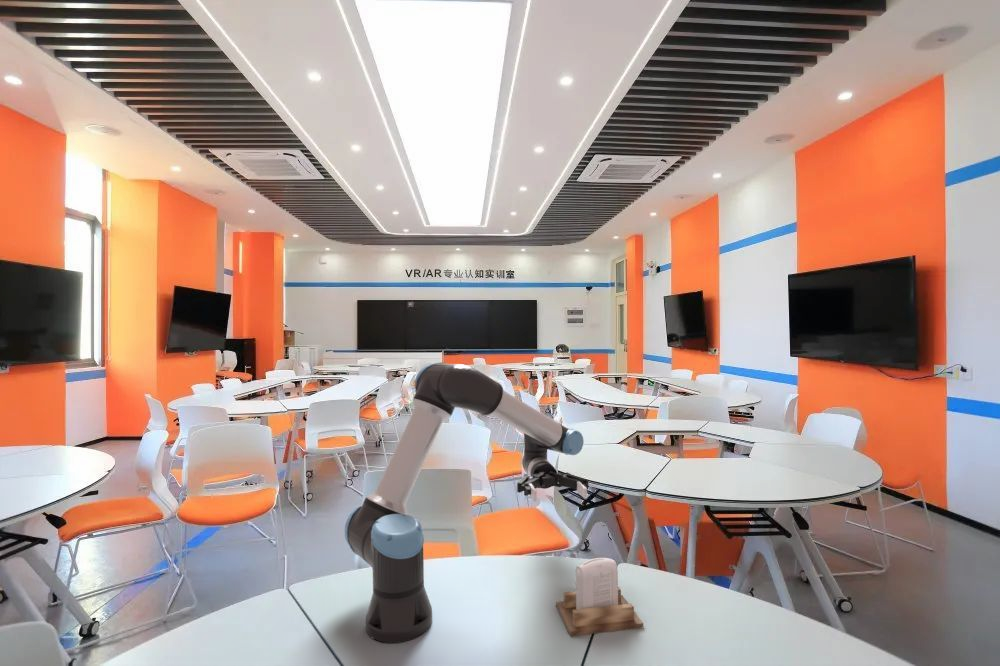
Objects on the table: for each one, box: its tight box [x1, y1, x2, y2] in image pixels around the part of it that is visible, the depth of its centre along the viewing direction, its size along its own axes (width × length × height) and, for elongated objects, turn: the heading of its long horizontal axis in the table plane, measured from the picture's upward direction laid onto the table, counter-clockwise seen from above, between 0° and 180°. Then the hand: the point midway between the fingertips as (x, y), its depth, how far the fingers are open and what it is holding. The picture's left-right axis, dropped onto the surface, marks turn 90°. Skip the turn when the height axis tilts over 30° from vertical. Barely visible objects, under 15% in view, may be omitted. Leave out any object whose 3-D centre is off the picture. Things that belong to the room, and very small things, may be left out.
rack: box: [555, 586, 644, 637], centre depth 114 cm, size 17×12×4 cm
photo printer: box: [575, 557, 619, 610], centre depth 114 cm, size 10×4×12 cm, turn 110°
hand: (560, 494), depth 127 cm, fingers open, 13 cm apart
